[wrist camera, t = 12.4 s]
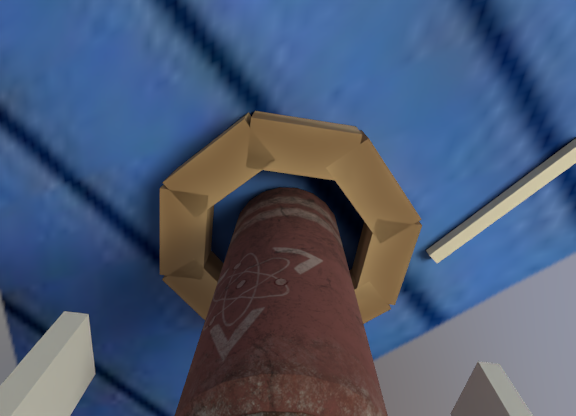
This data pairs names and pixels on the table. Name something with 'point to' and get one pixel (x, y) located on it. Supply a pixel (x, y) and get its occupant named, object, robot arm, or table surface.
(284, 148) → the wooden ring
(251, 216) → the can
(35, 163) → the table surface
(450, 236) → the straight beige square stick
